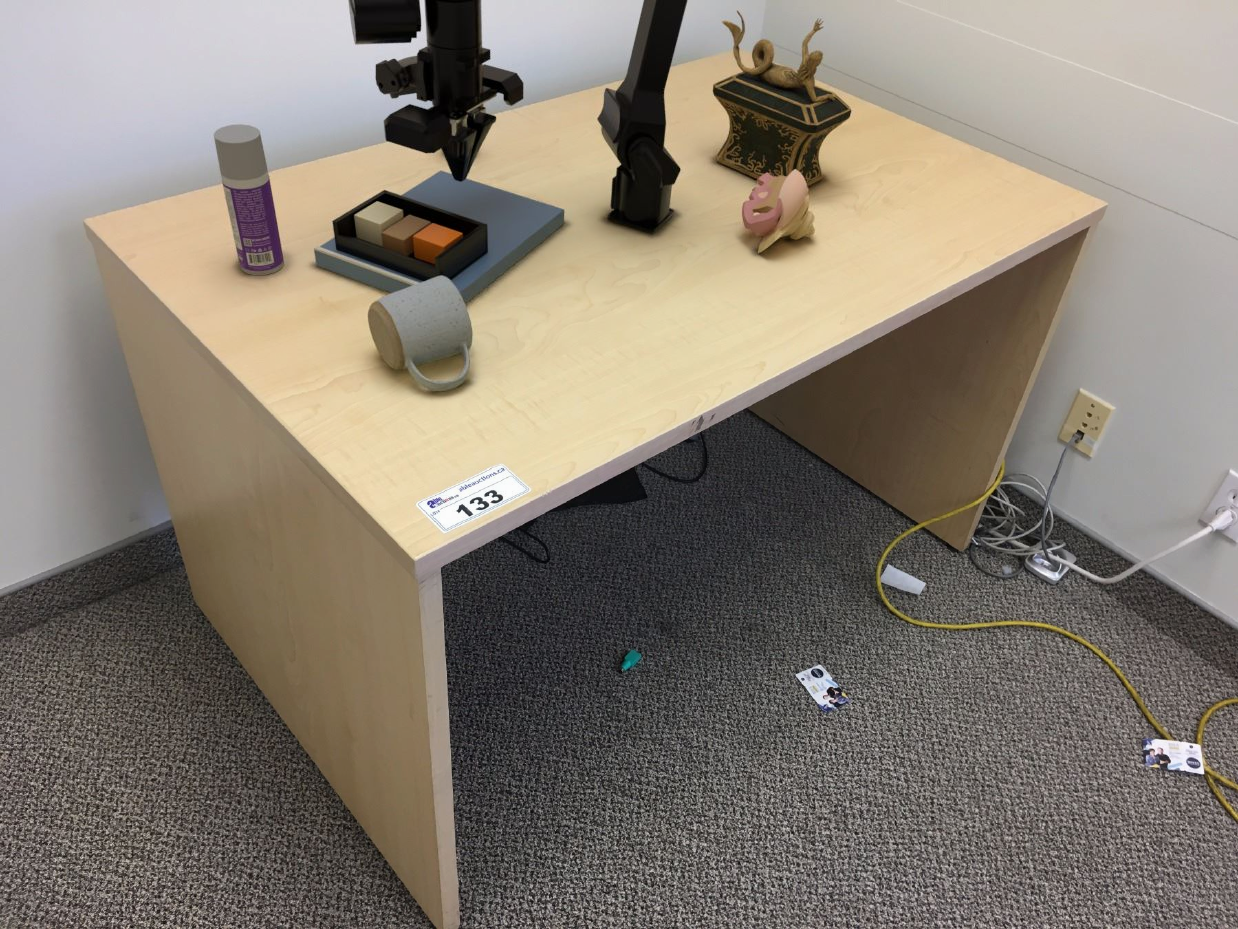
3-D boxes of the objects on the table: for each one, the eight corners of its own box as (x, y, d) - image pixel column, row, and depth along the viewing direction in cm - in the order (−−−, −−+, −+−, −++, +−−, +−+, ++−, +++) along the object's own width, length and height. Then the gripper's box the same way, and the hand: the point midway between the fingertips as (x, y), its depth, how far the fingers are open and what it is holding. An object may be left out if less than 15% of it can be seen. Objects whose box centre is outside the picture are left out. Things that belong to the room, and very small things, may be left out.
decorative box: (839, 180, 136) (873, 31, 123) (798, 201, 131) (830, 48, 118) (724, 131, 146) (745, -12, 133) (682, 149, 140) (699, 1, 127)
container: (292, 259, 112) (270, 129, 102) (268, 279, 108) (243, 147, 98) (256, 249, 113) (231, 120, 103) (231, 269, 109) (202, 137, 99)
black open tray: (488, 252, 112) (487, 224, 109) (441, 288, 106) (439, 258, 103) (387, 217, 116) (384, 189, 114) (335, 249, 110) (332, 220, 108)
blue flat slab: (564, 224, 122) (564, 206, 120) (451, 315, 106) (450, 296, 104) (441, 184, 127) (440, 167, 126) (316, 265, 111) (313, 247, 109)
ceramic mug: (366, 348, 100) (359, 282, 95) (439, 325, 104) (436, 261, 99) (416, 406, 94) (411, 340, 89) (491, 380, 98) (491, 314, 93)
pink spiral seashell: (802, 222, 128) (848, 197, 119) (770, 284, 125) (815, 263, 116) (748, 178, 125) (791, 149, 116) (714, 241, 122) (755, 216, 113)
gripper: (441, 1, 113) (447, 134, 123) (334, 47, 100) (350, 191, 110) (526, 22, 109) (525, 157, 120) (426, 73, 97) (434, 219, 107)
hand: (459, 179), depth 114 cm, fingers closed
